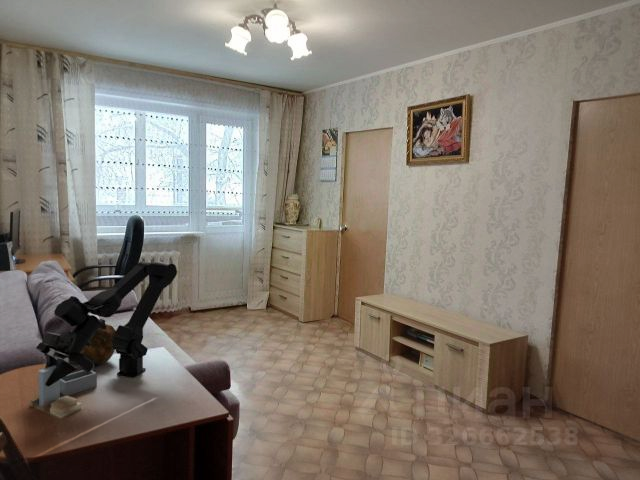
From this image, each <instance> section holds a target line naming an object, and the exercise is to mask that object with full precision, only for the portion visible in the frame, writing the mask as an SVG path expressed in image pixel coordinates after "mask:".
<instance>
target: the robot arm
mask: <svg viewBox="0 0 640 480" xmlns="http://www.w3.org/2000/svg"><path fill="white" fill-rule="evenodd" d="M177 275H178V269H177V267H176V265H175V264H174V263H171V262H166V261H155V262H153V263H152V262H148V261H143V260H142V261H141V260H140V261H139V262H137V263H136V265H135V266H134V267H133V268H132V269H131V270H130V271H129V272H127V273H126V274H125V275H123V276H122V278H120V279H119V280H118V281H117V282H116V283H114V284H113V285H112V286H111V287H110V288H108V289H105V290H102V291H100V292H98V293H97V294H95V295H93V296H92V297H91V298H90V299H89V300H87V301H84V302H82V301H81V300H80V299H79V298H78V297H77V296H72V295H70V296H69V298H67V299H64V300H63V301H61V302H60V303H58V304H57V305H56V307H55V308H54V315H55V316H56V317H57V318H59V319H60V320H61V321H63V322H64V323H65V324H67V325H68V326H69V327H73V328H72V329H71V330H70V331H68V330H67V331H65V332H62V333H60V334H59V333H55V332H49V331H46V332H45V334H44V336H43V338H42V341H41V342H39V343H38V345H37V346H36V347H35V349H36V351H39V352H40V353H42V354H43V356H44V357H45V361H46V363H45V366H44V367H45V368H48V367H51V366H54V365H55V366H56V368H55V369H54V371H53V373H52V374H51V376H50V377H49V379H48V380H47V382H46V384H45V385H46V386H50V385H52V384H53V383H55V382H57V381H58V380H60V379H61V378H63V377H65V376H67V375H68V374H71V373H75V372H78V371H79V369H78V367H81V368H82V370H84V371H87V372H90V371H91V370H92V371H93V369H94V367H95V364H94V362H93V361H92V360H90V359H89V358H87V357H86V356H85V355H83V354H80V353H81V352H82V350H83V349H84V348H85V346H87V347H89V346H90V345H91V344H90V343H89V341H90V339H91V338H92V337H93V335H94V334H95V332H96V331H97V330H98V328H101V329H106V320H105V319H102V318H111V317H113V315H115V313H116V312H117V311H118V309H120V307H121V306H122V305H121V304H122V302H123V300H124V298H126V296H128V295H129V294H130V293H131V292H132V291H133V290H134V289H135V288H136V287H137V286H138V285H140V284H141V283H142V282H143V280H145V279H146V278H148V285H147V286H146V288H145V290H144V292H143V294H142V296H141V298H140V299H139V301H138V303H137V306H136V308H135V309H134V311H133V313H132V315H131V316H130V319H129V320H128V322H127V323H126V324H124V325H121V324H119V325H118V326H117V328H116V329H115V330H116V332H115V334H114V335H113V336H112V337H114V338H113V340H112V344H113V347H114V349H115V352H116V354H117V355H119V358H118V372H116V375H117V376H124V377H130V378H136V377H137V376H139V375H140V374H141V373H143V372H144V371H146V370H147V369H146V367H144V366H143V363H144V359H143V358H144V357H145V356H146V355H147V352H148V350H149V349H148V347H147V346H145V345H144V344H143V340H144V327H145V325H146V323H147V321H148V319H149V317H150V316H151V314H152V311H153V310H154V307H155V306H156V303H157V302H158V299H159V298H160V296H161V294H162V292H163V291H164V289H165V288H167V287H168V286H169V285H171V284H172V282H173V281H174V279H175V278H176V276H177ZM90 314H91V315H90ZM98 316H99V317H102V318H98ZM45 368H44V369H45Z"/></svg>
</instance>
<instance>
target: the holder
mask: <svg viewBox="0 0 640 480" xmlns="http://www.w3.org/2000/svg"><path fill="white" fill-rule="evenodd" d="M97 377H98V373H97V372H95V371H93V369H92V370H91V371H90V372H87V371H84V370H83V369H82V370H77V371H74V372H72V373H70V374H68V375H67V376H65V377H63V378H61V379H60V380H59V382H60V394H61V395H62V396H63V397H64V396H66V395H67V396H71V395H75V394H77V393H80V392H83V391H86V390H89V389H92V388H96V387H97V386H98V378H97Z"/></svg>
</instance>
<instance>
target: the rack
mask: <svg viewBox="0 0 640 480" xmlns="http://www.w3.org/2000/svg"><path fill="white" fill-rule="evenodd" d="M28 406H29V407H32V408H34V409H37V410H38V411H41V412H43V413H45V414H47V415H49V416H51V417H53V418H56V419H58V420H62V419H64V418H66V417H69V416H70V415H74V414H75V413H77V412H81V411H83V410H85V407H83V406H82V403H81V402H78V398H75V397H73V396H70V395H68V396H67V395H66V396H64V395H63V396H60V398H59V399H56V400H53V401H51V402H48V403H46V404H43V405H41V406H39V396H38V397H35V398H34V399H33V398H32V399H30V400H29V404H28Z"/></svg>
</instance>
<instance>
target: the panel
mask: <svg viewBox="0 0 640 480" xmlns="http://www.w3.org/2000/svg"><path fill="white" fill-rule="evenodd" d="M55 368H56V366H55V365H54V366H51V367H48V368H42V369H38V397H39V406H41V405H43V404H46V403H48V402H51V401H53V400H56V399H59V398H61V395H60V394H61V393H60V382H59V380H58V381H57V382H55V383H53V384H52V385H50V386H46V385H45V384H46V382H47V380H48V379H49V377H50V376H51V374H52V373H53V371H54V369H55Z"/></svg>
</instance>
